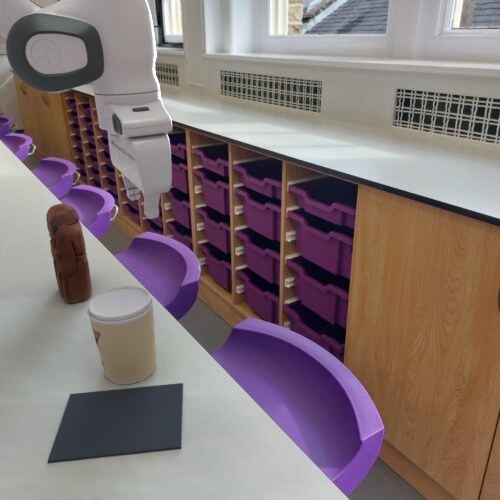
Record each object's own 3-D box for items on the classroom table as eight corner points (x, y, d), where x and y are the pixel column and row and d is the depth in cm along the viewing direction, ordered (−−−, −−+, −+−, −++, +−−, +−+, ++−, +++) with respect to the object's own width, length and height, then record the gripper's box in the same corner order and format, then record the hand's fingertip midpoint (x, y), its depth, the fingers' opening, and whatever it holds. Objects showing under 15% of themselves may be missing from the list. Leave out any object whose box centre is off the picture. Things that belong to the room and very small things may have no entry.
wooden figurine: (57, 282, 102) (38, 200, 94) (88, 275, 104) (73, 194, 97) (62, 308, 92) (42, 219, 85) (97, 299, 94) (80, 212, 87)
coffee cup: (110, 350, 79) (97, 285, 74) (167, 349, 79) (158, 284, 74) (91, 388, 71) (76, 318, 66) (155, 388, 70) (144, 317, 65)
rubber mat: (47, 463, 59) (47, 461, 59) (70, 395, 70) (70, 393, 70) (181, 448, 60) (180, 446, 60) (182, 384, 71) (182, 382, 71)
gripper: (92, 106, 75) (106, 193, 80) (125, 126, 58) (140, 233, 64) (133, 102, 77) (143, 186, 83) (176, 120, 60) (185, 224, 66)
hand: (142, 207), depth 73 cm, fingers open, 8 cm apart
